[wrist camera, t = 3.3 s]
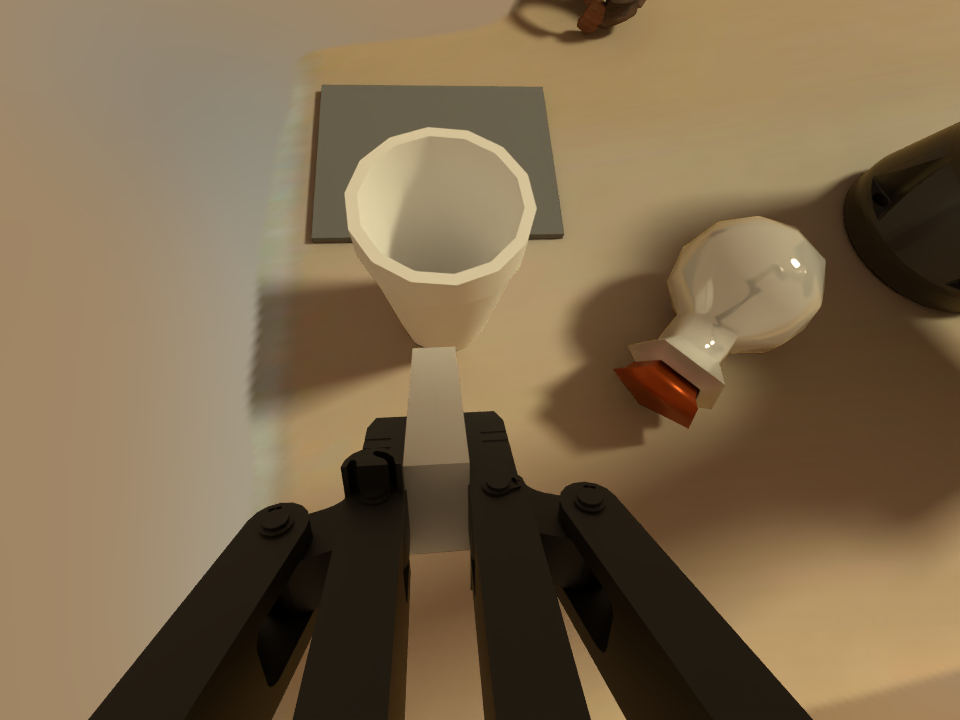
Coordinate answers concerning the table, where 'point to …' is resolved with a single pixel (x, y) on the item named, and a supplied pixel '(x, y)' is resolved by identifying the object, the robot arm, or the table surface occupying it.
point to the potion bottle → (725, 311)
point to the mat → (401, 109)
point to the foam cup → (440, 229)
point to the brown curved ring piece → (607, 13)
